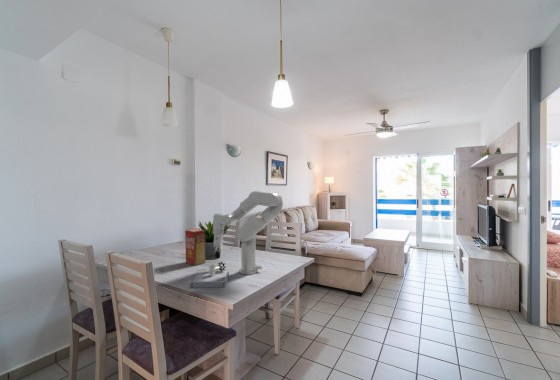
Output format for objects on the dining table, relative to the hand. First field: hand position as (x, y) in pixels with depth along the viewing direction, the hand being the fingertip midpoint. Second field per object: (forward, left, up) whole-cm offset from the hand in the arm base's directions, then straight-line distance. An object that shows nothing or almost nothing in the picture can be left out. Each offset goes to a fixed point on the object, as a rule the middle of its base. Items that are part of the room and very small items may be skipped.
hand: (217, 257), depth 180 cm
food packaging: (+20, -17, -9) cm, 28 cm away
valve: (-1, +9, -9) cm, 12 cm away
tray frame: (-1, +23, -8) cm, 25 cm away
